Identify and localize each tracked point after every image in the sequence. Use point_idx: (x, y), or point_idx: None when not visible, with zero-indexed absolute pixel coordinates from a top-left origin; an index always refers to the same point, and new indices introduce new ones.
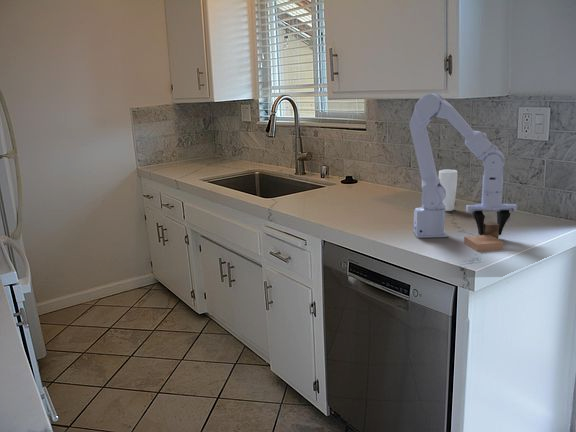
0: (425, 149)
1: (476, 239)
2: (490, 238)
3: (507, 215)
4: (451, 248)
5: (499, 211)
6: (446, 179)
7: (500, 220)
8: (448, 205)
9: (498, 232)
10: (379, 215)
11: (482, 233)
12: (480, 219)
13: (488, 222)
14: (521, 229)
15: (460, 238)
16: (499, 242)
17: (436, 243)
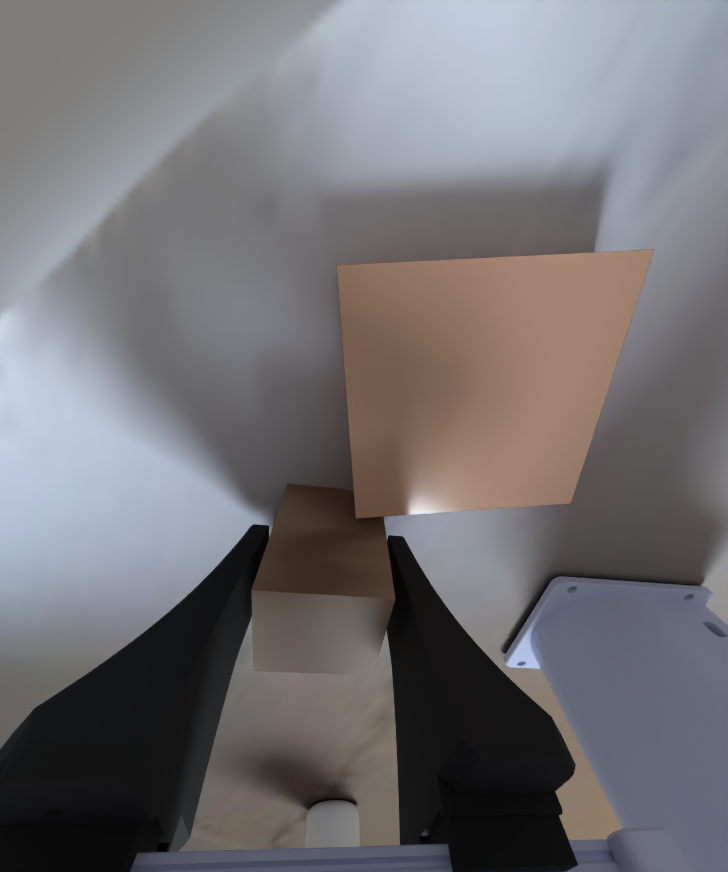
0: None
1: (536, 417)
2: (402, 419)
3: (61, 731)
4: (707, 379)
5: (161, 839)
6: None
7: (213, 655)
8: (335, 837)
9: (275, 527)
10: (587, 783)
11: (395, 544)
12: (479, 675)
13: (324, 656)
14: (78, 634)
15: (494, 553)
16: (384, 267)
17: (695, 495)
